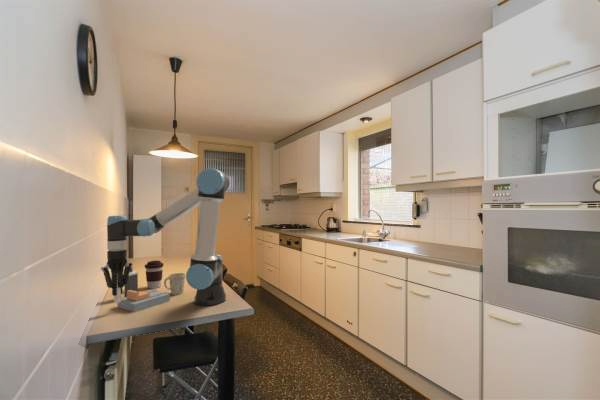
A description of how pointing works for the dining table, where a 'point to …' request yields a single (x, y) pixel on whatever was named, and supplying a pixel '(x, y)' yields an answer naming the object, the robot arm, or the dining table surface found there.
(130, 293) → the block
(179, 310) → the dining table surface
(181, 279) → the mug
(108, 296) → the dining table surface
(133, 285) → the plug
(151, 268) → the coffee cup
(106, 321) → the dining table surface
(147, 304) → the socket plate
